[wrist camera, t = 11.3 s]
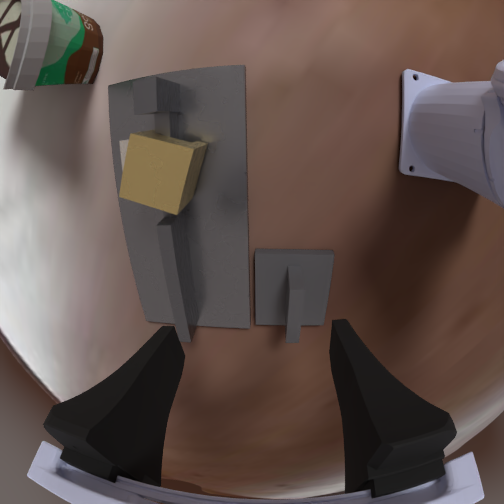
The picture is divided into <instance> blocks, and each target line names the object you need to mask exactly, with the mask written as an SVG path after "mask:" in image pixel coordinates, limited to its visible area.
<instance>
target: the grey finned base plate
mask: <svg viewBox="0 0 504 504" xmlns="http://www.w3.org/2000/svg"><path fill="white" fill-rule="evenodd" d="M333 263H334V252H333V250H299V249H255V300H256V325H285V334H286V343H299V337H300V329H301V325H324V319H325V314H326V308H327V302H328V296H329V290H330V283H331V277H332V270H333Z"/></svg>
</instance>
